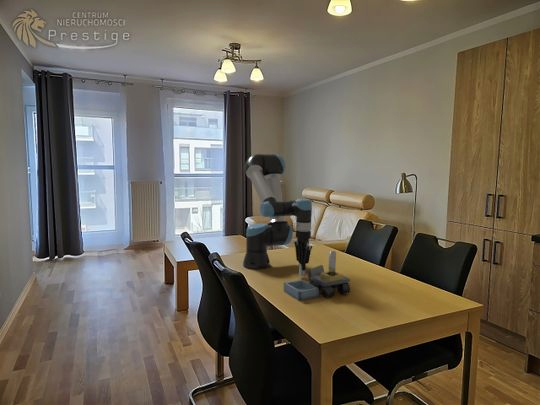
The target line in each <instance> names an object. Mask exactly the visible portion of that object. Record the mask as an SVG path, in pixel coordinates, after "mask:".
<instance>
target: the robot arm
mask: <svg viewBox="0 0 540 405" xmlns="http://www.w3.org/2000/svg"><path fill="white" fill-rule="evenodd" d="M285 171H286V163H285V159H284V158H283V157H282V156H281V155H280V154H274V153H273V154H271V153H270V154H267V153H262V154H261V153H257V154H256V153H255V154H253V155H251V156H249V157H248V158H247V160H246V162H245V164H244V172H245V175H246V177H247V178H248V179H250V182H251V183H252V185H253V188H254V190H255V192H256V194H257V197H258V198H259V201H260V202H261V203H260V205H259V211H260V215H261V216H262V217H264V218H265V217H267V218H269V221H268V222H267V223H265V222H262V223H253V224H250V225H248V226H247V228H246V234H245V236H246V238H245V239H246V240H245V241H246V242H245V243H246V244H245V245H246V248H245V249H246V250H245V252H246V253H245V255H244V258H243V261H242V265H243V267H244V268H247V269H251V270H259V269H260V270H263V269H268V268H269V267H270V266H271V261H270V258H269V254H268V247H277V246H287V245H289V244H290V243H291V242H292V239H293V235H294V230H293V227H292V225H291V224H288V223H289V222H288V220H287V219H286V218H285V217H292V216H293V217H295V220H296V222H295V229H296V230H295V238H296V241H293V244H294V248H295V257H296V261H297V262H298V277H305V276H306V270H307V269H306V268H307V264H309V263H310V259H311V258H310V257H311V251H312V249H313V246H312V245H310V239H311V237H312V231H311V230H312V210H313V203H312V202H313V201H312V200H311V199H309V198H298V199H297V200H286V201H283V193H282V184H281V178H282V177H283V174H284V173H285Z"/></svg>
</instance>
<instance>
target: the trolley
mask: <svg viewBox="0 0 540 405" xmlns="http://www.w3.org/2000/svg"><path fill="white" fill-rule="evenodd" d="M328 274H329V270H328V271H324V272H322V273H321V275H317V276H311V280H312V281H311V284H312V285H313V286H315V287H317V288H319V292H320V293H321V296H322V297H323V298H325V299H327V298H332V297H333V296H335V291H334V290H335V289H337V291H338V293H339V294H340V295H341V296H342V295H347V294H349V293H350V292H351V286H350V281H351V279H350V277H348V276H345V275H344V274H343V273H342V274H341V273H340V272H337V271H335V275H333V276H330V275H328Z"/></svg>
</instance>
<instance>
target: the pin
mask: <svg viewBox="0 0 540 405" xmlns="http://www.w3.org/2000/svg"><path fill="white" fill-rule="evenodd" d="M328 254H329V255H328V271H329V274H328V275H330V276H333V275H335V272H336V271H337V270H336V269H337V268H336V265H337V264H336V262H337V252H336V251H333V250H331V251H330V250H329V253H328Z"/></svg>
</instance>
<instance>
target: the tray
mask: <svg viewBox="0 0 540 405" xmlns="http://www.w3.org/2000/svg"><path fill="white" fill-rule="evenodd" d="M283 292H284V293H285V294H288V296H291V297H292V298H294V299H295V300H297V301H299V302H301V301H307V300H312V299H316V298H320V296H319V295H320V294H319V293H320V291H319V288H317V287H315V286H313V285H312V284H310V283H309V281H308V282H307V281H306V280H304V279H298V280H292V281H286V282H283Z"/></svg>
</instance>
